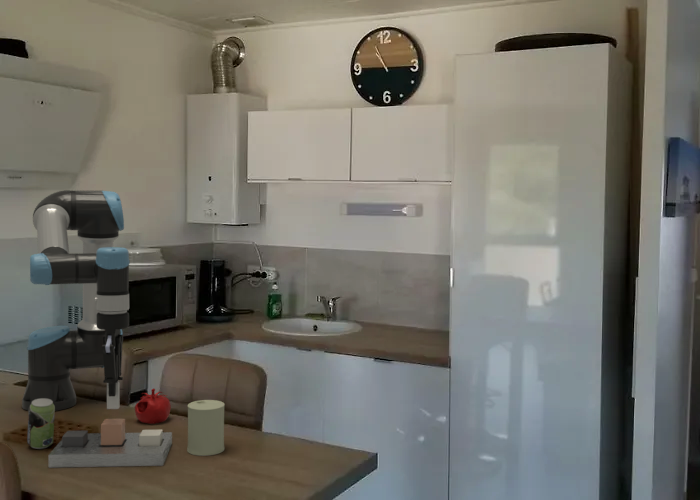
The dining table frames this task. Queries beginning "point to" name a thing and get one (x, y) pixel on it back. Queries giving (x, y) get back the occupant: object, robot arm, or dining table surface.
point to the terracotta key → (113, 432)
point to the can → (205, 427)
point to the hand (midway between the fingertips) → (113, 408)
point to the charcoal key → (75, 439)
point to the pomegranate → (153, 408)
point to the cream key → (150, 438)
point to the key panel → (111, 453)
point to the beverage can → (41, 423)
